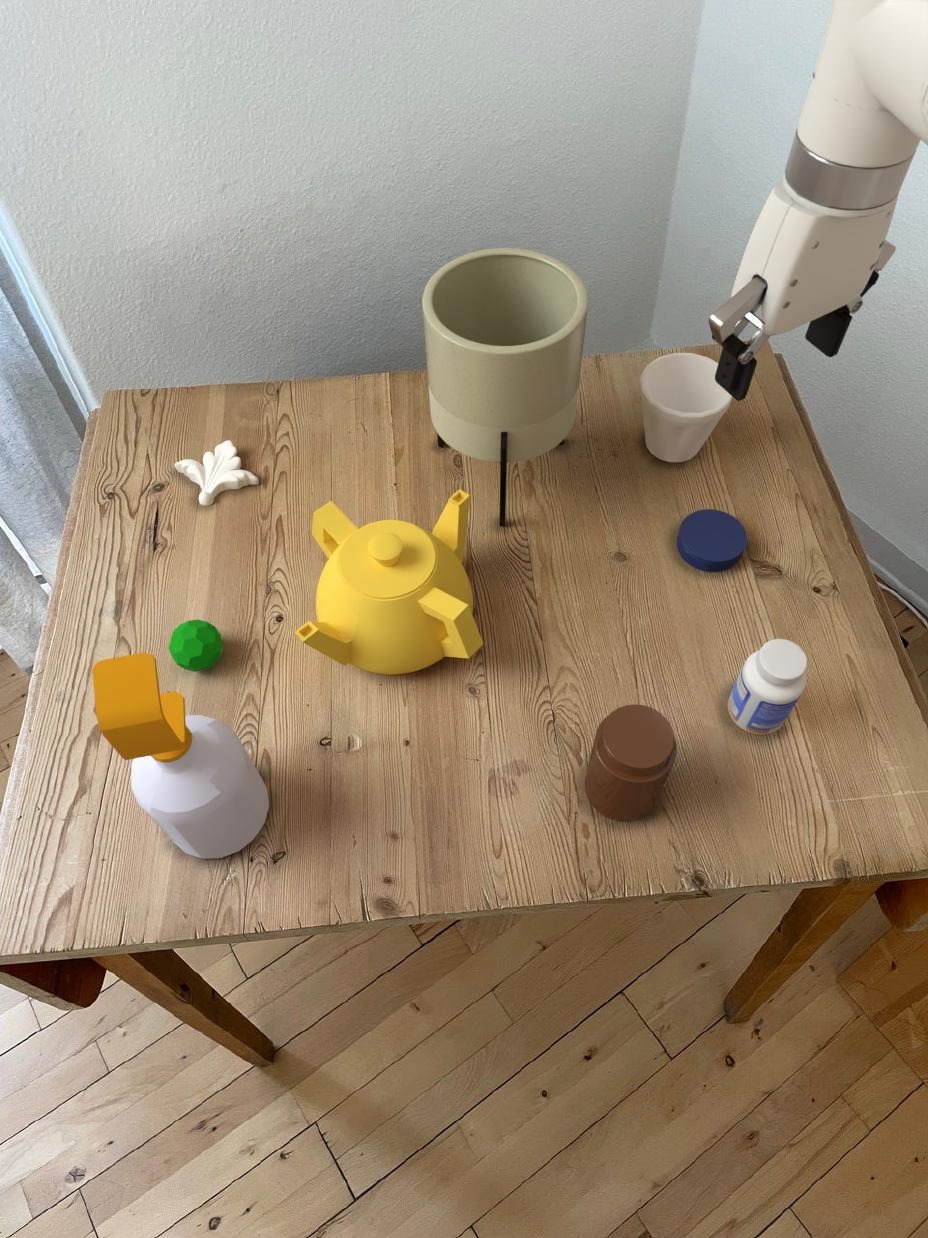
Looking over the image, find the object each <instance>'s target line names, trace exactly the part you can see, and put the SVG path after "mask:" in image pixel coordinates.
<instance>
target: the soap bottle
mask: <svg viewBox="0 0 928 1238" xmlns="http://www.w3.org/2000/svg"><path fill="white" fill-rule="evenodd" d="M91 672H92V681H93V692H94V703H95V714H96V720H97V723H98V728H99V730H100V733H101V734H102V736H103V737H104V739H106V741H107V742H108V743H109V745H110V746H111V747H112V748H113V749H114V750H115V751H116V752H117V753H118V755H119V756H120V757H121V758H122V759H123V760H125V761H129V760H132V762H131V767H130V773H131V774H130V777H131V778H130V788H131V790H132V793H133V795H134V797H135V800H136V802H137V804H138V805H139V807H140V808H141V809H142V810H143V811H144V812H145V813H146V814H147V815H148V816H149V818H151V820H153V821H154V823H155V824H156V825H157V826H158V827H159V828H160V829H161V830H162V831H163V832H164V833H165V834H166V836H167V837H168V838H169V839H170V840H171V841H172V842H173V844H175V845H176V846H177V847H179V849H181V850H182V851H183V852H184V854H187V855H190V856H192V857H195V858H199V859H202V860H203V859H204V860H205V859H207V860H209V859H222V858H225V857H227V856H230V855H232V854H235V853H238V852H240V851H241V850H242V849H244V848H245V847H246V846H247V845H249V844H250V843H251V842H252V841H254V840H255V839H256V837H257V835H258V834H259V833H260V831H261V830H262V828H263V827H264V825H265V823H266V819H267V817H268V812H269V808H270V801H269V800H270V799H269V790H268V788H267V786H266V784H265V782H264V780H263V778H262V777H261V775H260V772H259V771H258V769H257V767H256V766H255V764H254V762H253V760H252V759H251V757H250V755H249V753H248V752H247V749H246V748H245V746H244V744H243V743H242V740H241V739H240V737H239V736H238V734H237V732H236V731H235V730H233V728H232V727H230V726H229V725H228V724H226V723H225V722H224V721H222V720H219V719H215V718H212V717H209V716H206V715H204V714H188V715H186V701H185V698H184V696H183V694H182V693H181V692H178V691H176V690H173V691H168V692H163V693H160V683H159V676H158V667H157V659H156V658H155V656H154V655H153V654H151V653H148V652H144V651H143V652H139V653H133V654H128V655H122V656H117V657H111V658H106V659H101V660H99V661H98V662H95V664H94V665H93V667H92V669H91Z"/></svg>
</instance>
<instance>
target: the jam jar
mask: <svg viewBox="0 0 928 1238" xmlns="http://www.w3.org/2000/svg"><path fill="white" fill-rule="evenodd" d="M677 753H678V745H677V740H676V737H675V734H674V730H673V727H672V725H671V723H670V722H669V720H668V719H667V718H666V717H665V716H664V714H662V713H661V712H660V711H658V710H657V709H655V708H653V707H650V706H648V705H644V704H639V703H638V704H637V703H636V704H634V703H633V704H626V705H623V706H621V707H620V706H619V707H617V708H616V709H615V710H612V711H611V712H610V713H609V714H607V716H606V717H605V718H604V719H603V720H602V721H601V722H600V723H599V725H598V727H597V729H596V731H595V736H594V739H593V743H592V748H591V751H590V756H589V761H588V765H587V768H586V769H587V770H586V774H585V778H584V789H585V791H584V792H585V794H586V797H587V799H588V801H589V803H590V804H591V806H592V807H593V808H594V809H595V811H596V812H597V813H599V814H600V815H602V816H603V817H605V818H607V819H610V820H613V821H616V822H621V823H622V822H623V823H625V822H626V823H627V822H634V821H638V820H640V819H642V818H644V817H646V816H647V815H648V814H649V813H651V812H652V811H653V809H654V808H655V806H656V804H657V802H658V800H659V798H660V796H661V793H662V792H663V789H664V786H665V784H666V782H667V779H668V777H669V776H670V773H671V771H672V768H673V765H674V764H675V761H676V759H677Z"/></svg>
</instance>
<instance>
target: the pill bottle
mask: <svg viewBox="0 0 928 1238" xmlns="http://www.w3.org/2000/svg"><path fill="white" fill-rule="evenodd" d="M807 667H808V658H807V655H806V653H805V652H804V649H802V647H800V645H798V644H797V643H795V642H794V641H791V640H789V639H784V638H774V639H771V640H768V641H766V642H765V643H764V644H763V645H762V647H761V648H760V649H758V650H756V651H754V652H752V653H751V654H750V655H749V656H748V657H747V659H746V660H745V661H744V664H743V666H742V668H741V670H740V672H739V674H738V676H737V678H736V681H735V682H734V685H733V687H732V689H731V692H730V694H729V696H728V699H727V711H728V714H729V716H730V718H731V719H732V721H733V722H734V723H735V724H736V725H737V727H739V728H740V729H742V730H743V731H745V732H747V733H749V734H753V735H760V736H763V735H769V734H772V733H774V732H777V731H778V730H779V729H781V728H782V727H783V725H784V724H785V722H786V721H787V720H788V717H789V716H790V714H791V713H792V711H793V710H794V707H795V706H796V704H797V703H798V701H799V699H800V697H801V696H802V694H803V693H804V690H805V689H806V686H807V683H808V681H807V680H808V677H807V671H806V670H807Z"/></svg>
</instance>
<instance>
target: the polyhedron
mask: <svg viewBox="0 0 928 1238" xmlns="http://www.w3.org/2000/svg"><path fill="white" fill-rule="evenodd" d="M223 646H224V640H223V637H222V635H221V633H220V631H219V630H218V628H217V627H216V626H215V625H213V624H212V623H210V622H208V621H205V620H202V619H191V620H186V621H185V622H182V623H180V624H178V626H177V627H176V628H175V629H174V630H172V633H171V637H170V640H169V645H168V651H169V654H170V655H171V658H172V660H173V661H174V662H175V664H176V665H177V666H178V667H180V668H182V669H184V670H186V671H190V672H193V673H195V672H201V671H205V670H208V669H211V668H212V667H213V666H214V665H215V664H216V663H218V661H220V659H221V656H222V653H223Z"/></svg>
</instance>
